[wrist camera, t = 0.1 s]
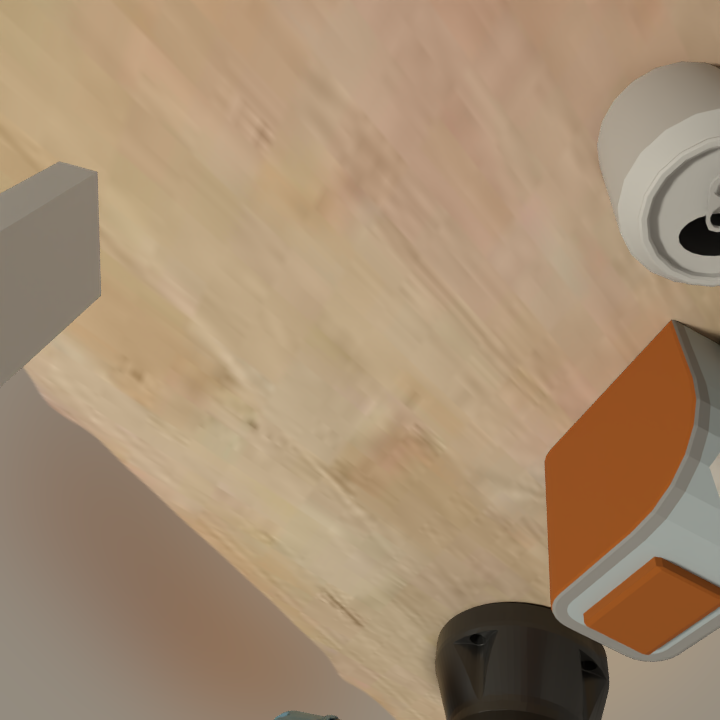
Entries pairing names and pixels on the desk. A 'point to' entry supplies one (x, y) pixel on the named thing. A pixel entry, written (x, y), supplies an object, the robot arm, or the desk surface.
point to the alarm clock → (641, 504)
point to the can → (667, 170)
